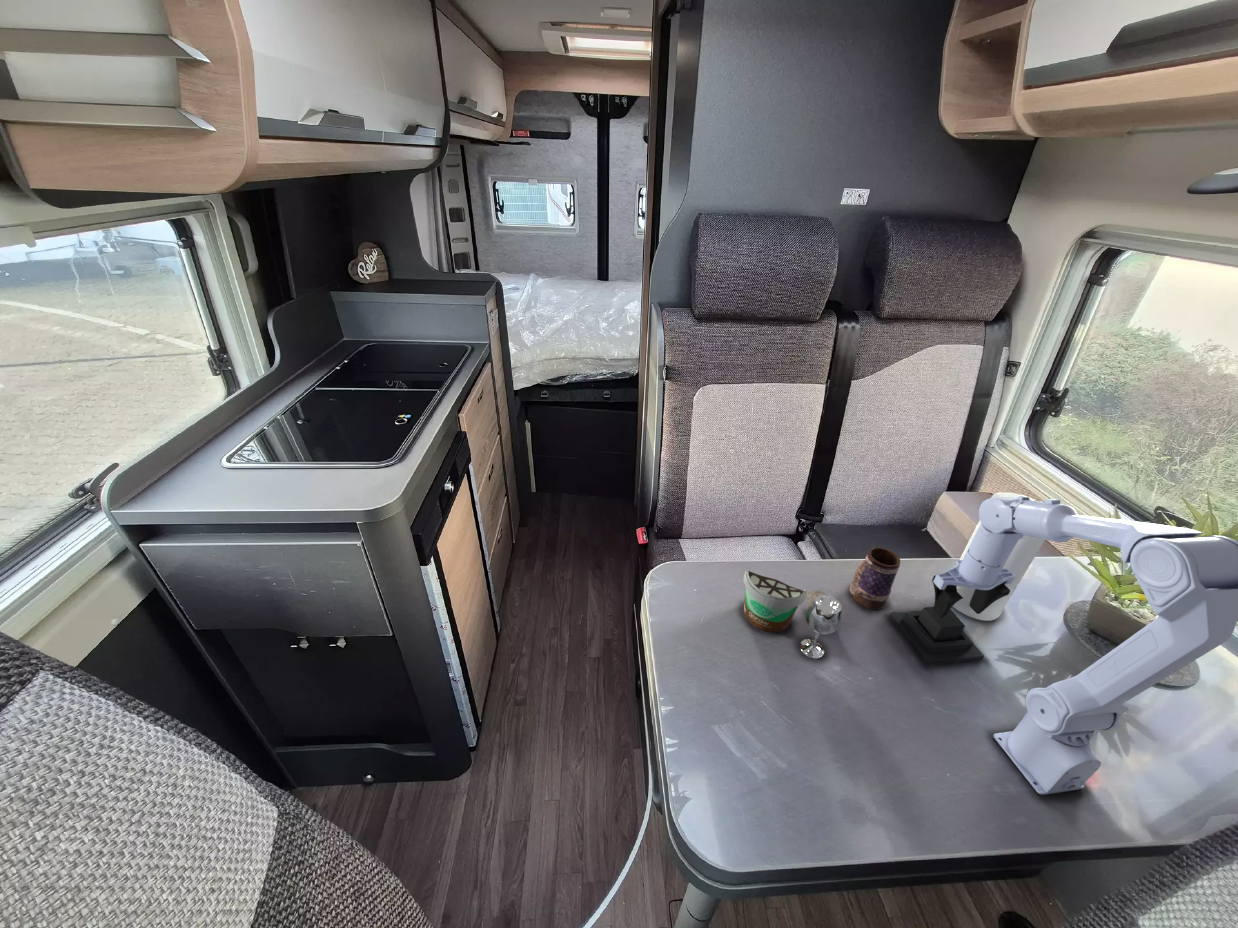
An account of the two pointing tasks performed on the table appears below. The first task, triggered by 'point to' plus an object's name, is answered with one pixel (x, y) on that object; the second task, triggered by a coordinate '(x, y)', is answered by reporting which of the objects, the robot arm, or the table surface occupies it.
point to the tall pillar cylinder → (1015, 564)
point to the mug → (875, 578)
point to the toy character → (813, 595)
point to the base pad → (928, 648)
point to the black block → (940, 625)
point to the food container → (770, 602)
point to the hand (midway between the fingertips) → (956, 611)
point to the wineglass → (821, 623)
